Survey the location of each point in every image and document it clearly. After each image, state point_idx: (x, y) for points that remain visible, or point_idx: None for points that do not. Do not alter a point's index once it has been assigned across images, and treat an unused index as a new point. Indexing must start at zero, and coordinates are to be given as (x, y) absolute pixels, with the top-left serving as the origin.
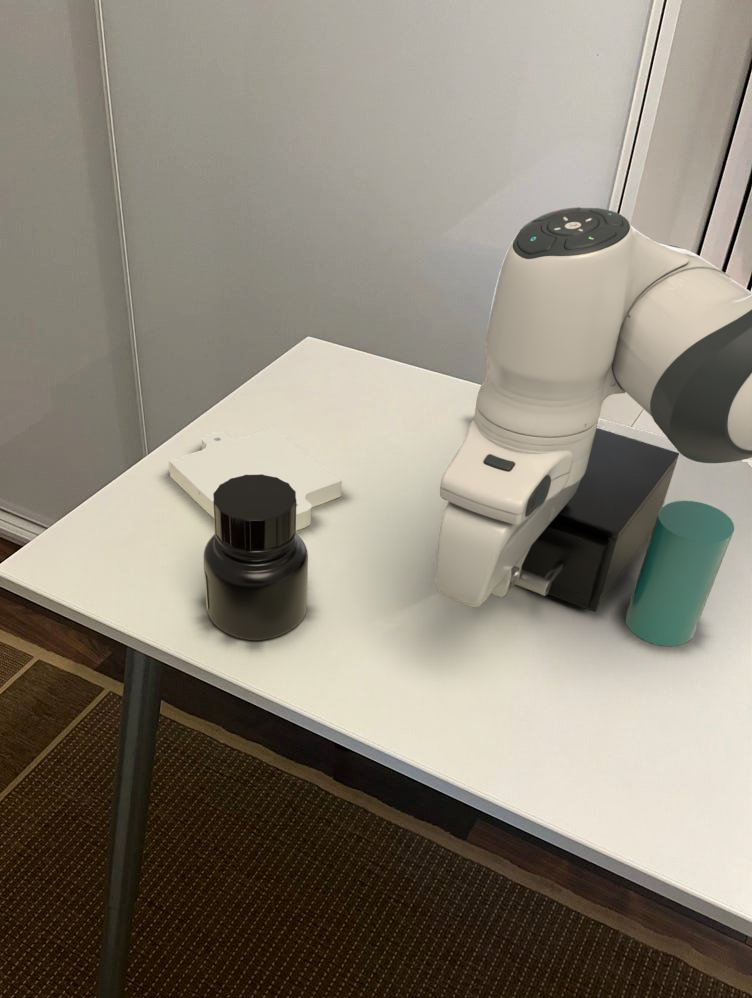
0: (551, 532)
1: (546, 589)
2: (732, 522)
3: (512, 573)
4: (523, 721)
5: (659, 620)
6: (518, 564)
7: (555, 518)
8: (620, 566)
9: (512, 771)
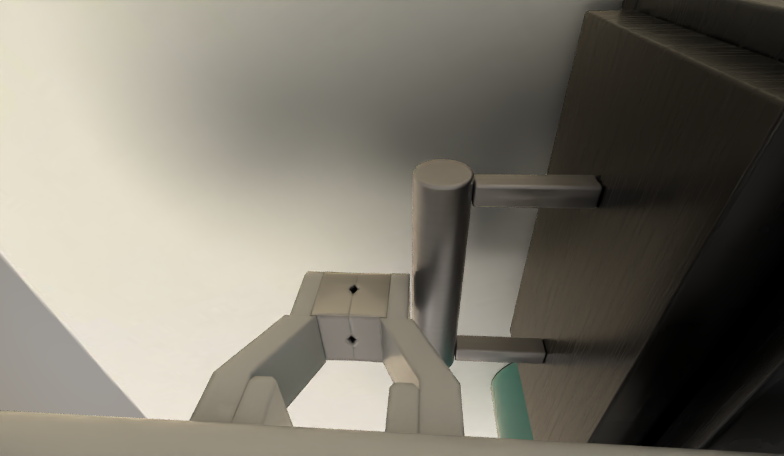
0: (583, 423)
1: None
2: None
3: (347, 357)
4: (205, 315)
5: (497, 434)
6: (388, 367)
7: (655, 446)
8: None
9: (120, 331)
